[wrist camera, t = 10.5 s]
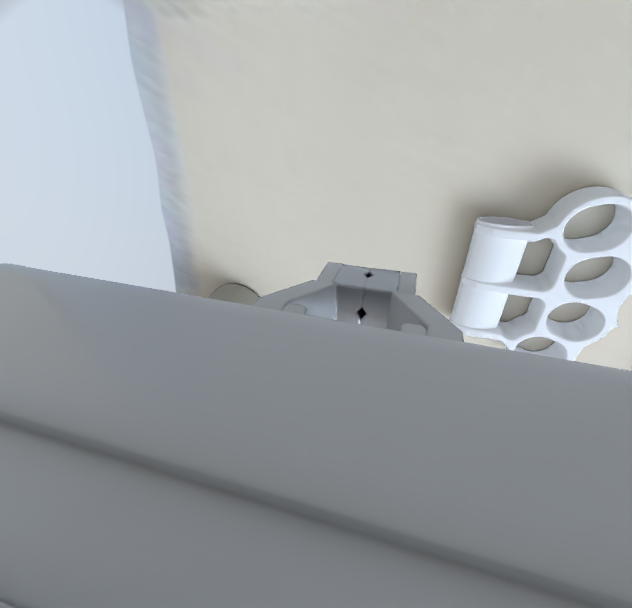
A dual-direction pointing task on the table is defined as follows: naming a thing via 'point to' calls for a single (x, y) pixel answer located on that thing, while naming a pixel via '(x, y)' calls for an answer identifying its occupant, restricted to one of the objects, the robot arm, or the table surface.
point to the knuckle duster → (546, 276)
